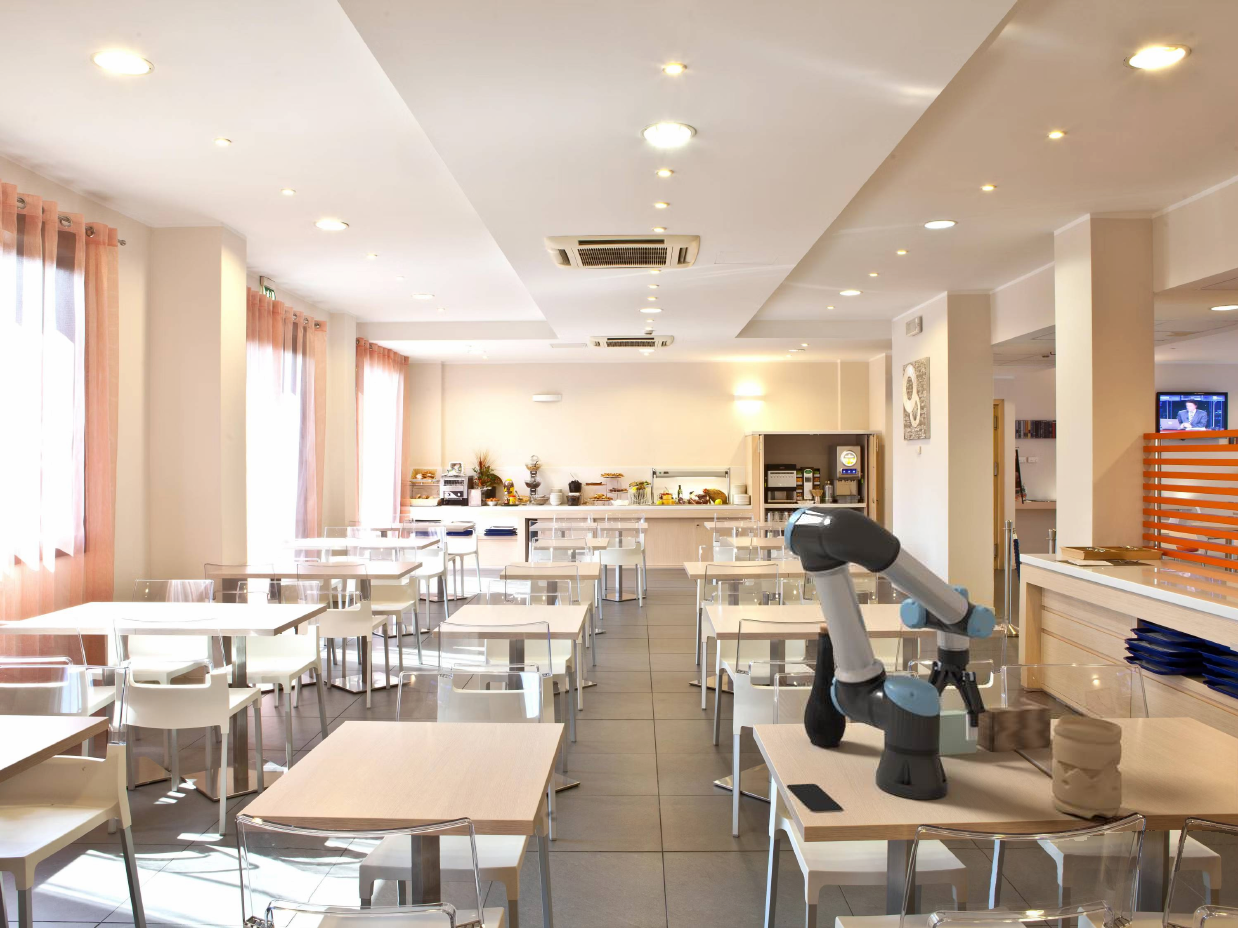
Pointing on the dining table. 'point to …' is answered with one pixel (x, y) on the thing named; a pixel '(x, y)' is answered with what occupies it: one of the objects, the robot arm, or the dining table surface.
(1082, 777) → the container
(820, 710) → the bottle
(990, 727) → the cabinet
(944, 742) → the door
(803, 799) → the smartphone
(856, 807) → the dining table surface
